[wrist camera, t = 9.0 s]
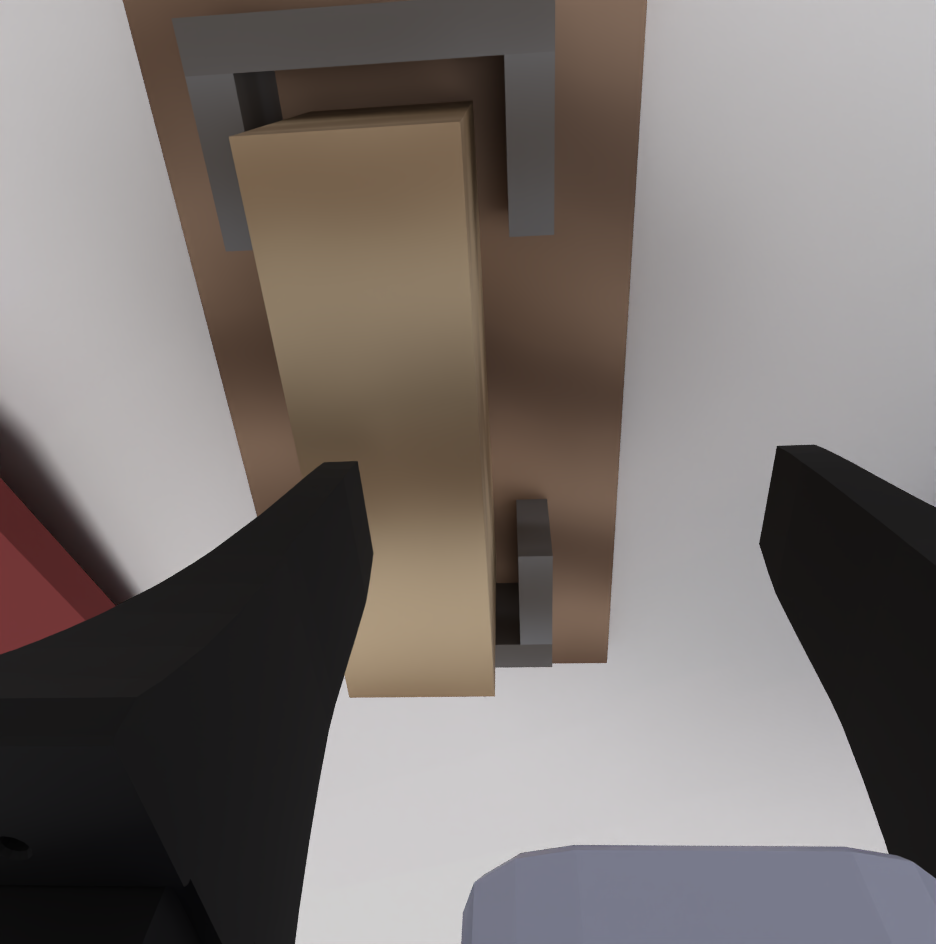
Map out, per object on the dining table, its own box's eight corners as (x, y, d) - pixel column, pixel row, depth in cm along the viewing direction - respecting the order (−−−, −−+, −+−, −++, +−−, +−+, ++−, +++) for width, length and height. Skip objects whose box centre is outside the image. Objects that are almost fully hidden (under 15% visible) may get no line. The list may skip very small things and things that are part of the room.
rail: (496, 558, 24) (494, 696, 19) (381, 561, 24) (349, 697, 19) (472, 100, 17) (460, 122, 12) (310, 111, 17) (228, 136, 12)
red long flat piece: (291, 717, 36) (-50, 277, 21) (269, 813, 32) (-166, 362, 17) (87, 747, 38) (-362, 365, 23) (44, 841, 34) (-528, 459, 19)
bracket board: (603, 643, 27) (618, 728, 24) (302, 647, 28) (274, 730, 25) (649, -174, 15) (693, -242, 11) (109, -126, 16) (0, -175, 12)
